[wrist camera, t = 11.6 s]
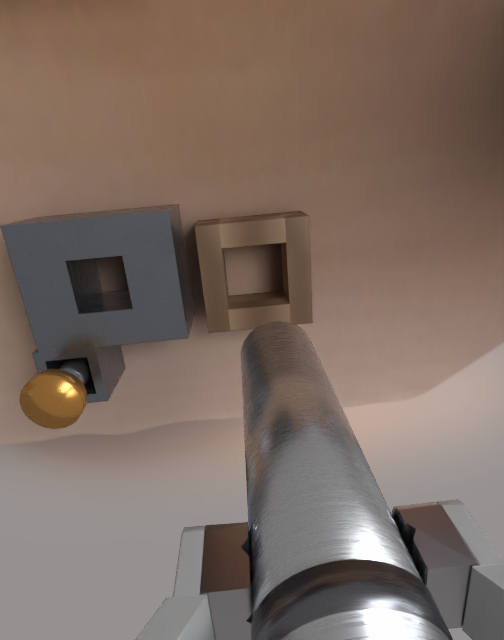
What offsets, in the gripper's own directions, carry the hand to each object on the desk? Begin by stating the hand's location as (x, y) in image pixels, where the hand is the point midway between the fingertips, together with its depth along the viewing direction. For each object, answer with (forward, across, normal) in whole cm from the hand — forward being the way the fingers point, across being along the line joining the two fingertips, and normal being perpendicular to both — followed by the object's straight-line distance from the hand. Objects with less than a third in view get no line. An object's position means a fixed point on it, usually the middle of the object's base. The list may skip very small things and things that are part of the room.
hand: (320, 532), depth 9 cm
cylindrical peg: (+10, 0, 0) cm, 10 cm away
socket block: (+29, +12, +2) cm, 31 cm away
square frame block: (+29, 0, 0) cm, 29 cm away
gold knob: (+25, +16, +7) cm, 30 cm away
